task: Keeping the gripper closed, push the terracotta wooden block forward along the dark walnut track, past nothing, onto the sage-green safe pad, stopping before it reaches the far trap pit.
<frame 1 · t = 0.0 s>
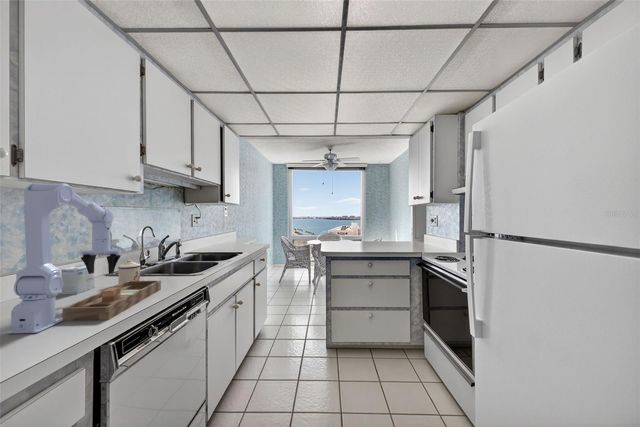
hand: (101, 273, 115), 10 cm above the counter, tool pointing down, fingers open, 7 cm apart
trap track: (119, 302, 110), on the counter
block: (111, 300, 105), point 2 cm above the counter, touching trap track
light bulb box: (78, 291, 126), on the counter
teacup with lid: (130, 283, 139), on the counter
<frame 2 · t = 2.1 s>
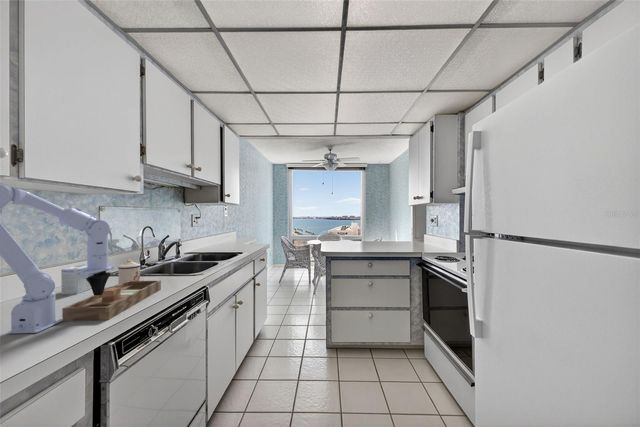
hand: (98, 294, 98), 7 cm above the counter, tool pointing down, fingers closed
nothing on the counter moved.
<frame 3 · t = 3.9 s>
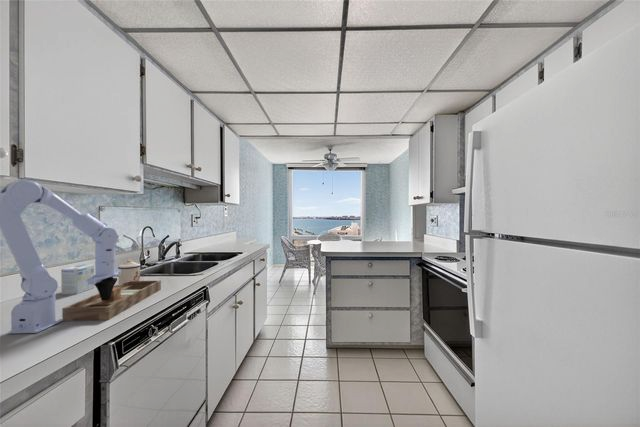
hand: (105, 299, 102), 4 cm above the counter, tool pointing down, fingers closed
block: (111, 300, 106), point 3 cm above the counter, touching gripper
everything else where it was.
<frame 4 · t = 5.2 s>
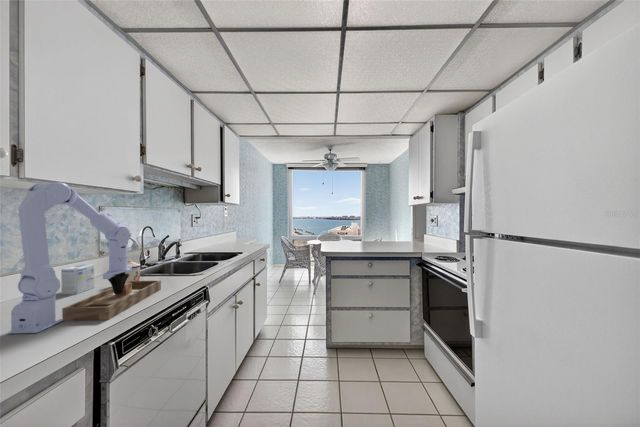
hand: (118, 293, 110), 4 cm above the counter, tool pointing down, fingers closed
block: (123, 294, 113), point 2 cm above the counter, touching gripper, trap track
everything else where it was.
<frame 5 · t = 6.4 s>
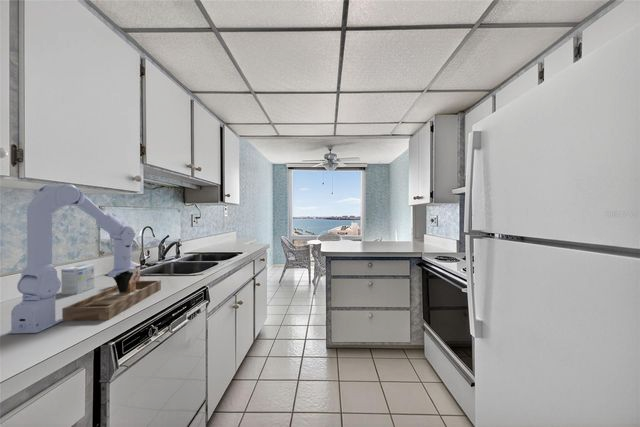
hand: (122, 291, 112), 4 cm above the counter, tool pointing down, fingers closed
block: (127, 292, 116), point 2 cm above the counter, touching gripper, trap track
everything else where it was.
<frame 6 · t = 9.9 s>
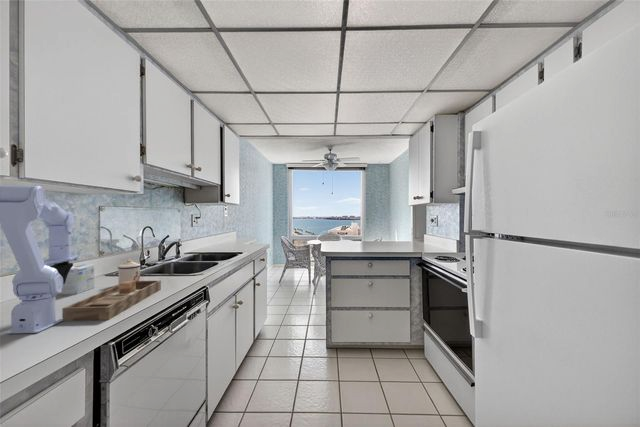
hand: (60, 284, 100), 9 cm above the counter, tool pointing down, fingers closed
block: (127, 292, 116), point 2 cm above the counter, touching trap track
everything else where it was.
at the end: block inside the target area on the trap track (0.4 cm from its centre), point 2.5 cm above the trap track's base; block tilted 0° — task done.
